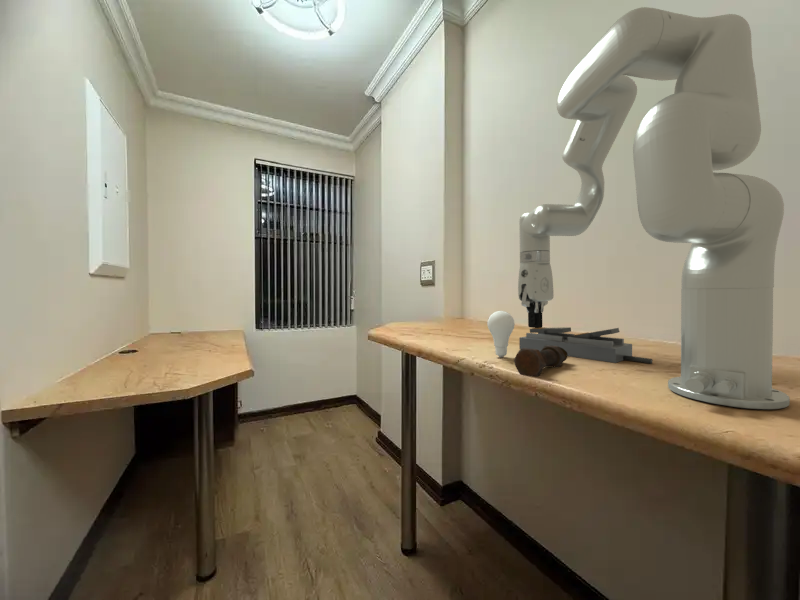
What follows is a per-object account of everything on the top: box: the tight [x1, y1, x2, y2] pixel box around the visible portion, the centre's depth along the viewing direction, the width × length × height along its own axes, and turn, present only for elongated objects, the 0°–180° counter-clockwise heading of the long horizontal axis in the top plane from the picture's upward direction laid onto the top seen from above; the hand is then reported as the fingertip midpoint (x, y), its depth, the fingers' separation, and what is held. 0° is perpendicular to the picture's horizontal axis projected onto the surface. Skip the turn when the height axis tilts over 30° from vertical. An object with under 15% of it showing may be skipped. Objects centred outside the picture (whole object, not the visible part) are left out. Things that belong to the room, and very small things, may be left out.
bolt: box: [513, 345, 568, 377], centre depth 67 cm, size 6×5×15 cm
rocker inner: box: [571, 327, 620, 338], centre depth 78 cm, size 4×9×1 cm, turn 36°
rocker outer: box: [529, 326, 572, 334], centre depth 87 cm, size 4×9×1 cm, turn 36°
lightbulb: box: [486, 310, 516, 358], centre depth 79 cm, size 6×6×11 cm
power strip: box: [518, 332, 653, 364], centre depth 80 cm, size 9×28×4 cm, turn 36°
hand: (535, 327), depth 90 cm, fingers closed
